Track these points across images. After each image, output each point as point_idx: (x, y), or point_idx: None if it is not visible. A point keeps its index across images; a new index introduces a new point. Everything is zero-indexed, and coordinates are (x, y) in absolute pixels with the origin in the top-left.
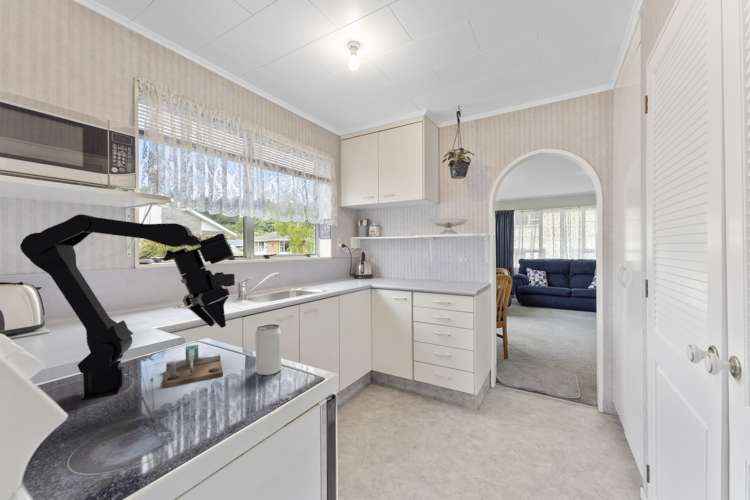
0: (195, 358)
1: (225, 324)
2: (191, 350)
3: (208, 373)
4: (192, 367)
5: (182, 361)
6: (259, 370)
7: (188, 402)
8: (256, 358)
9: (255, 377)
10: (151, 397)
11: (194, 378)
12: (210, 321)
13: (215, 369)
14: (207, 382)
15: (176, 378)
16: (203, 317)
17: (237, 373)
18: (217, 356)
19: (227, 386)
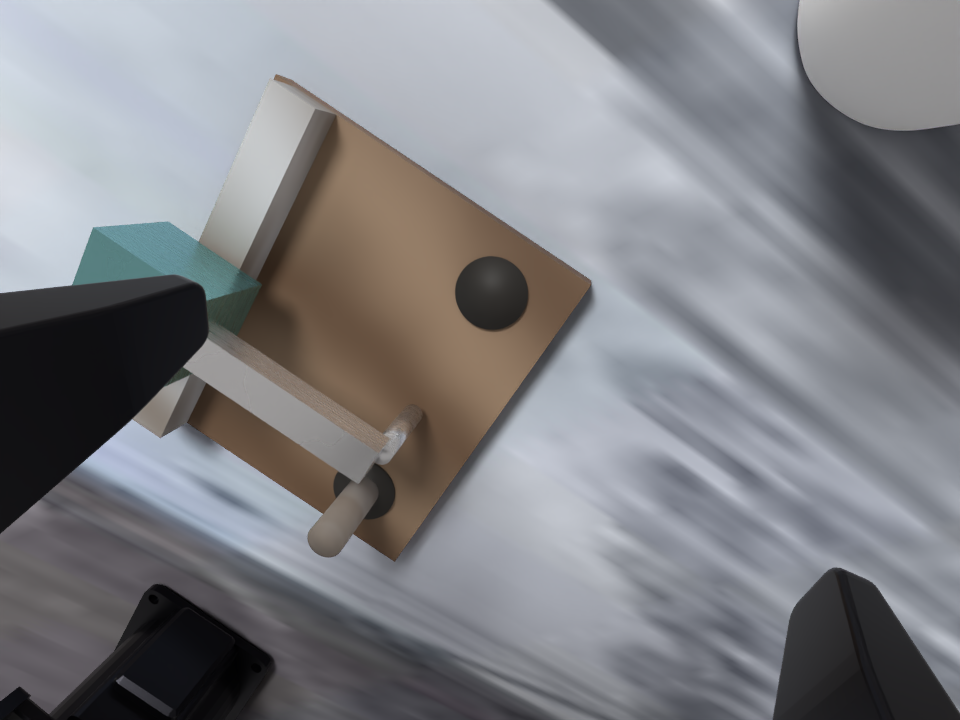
0: (247, 302)
1: (890, 609)
2: (219, 372)
3: (509, 349)
4: (410, 429)
5: None
6: (923, 127)
7: (728, 615)
8: (926, 104)
9: (886, 177)
10: (471, 634)
11: (485, 433)
12: (135, 355)
13: (493, 280)
14: (583, 399)
15: (395, 491)
16: (10, 489)
17: (659, 189)
18: (307, 132)
19: (784, 389)
